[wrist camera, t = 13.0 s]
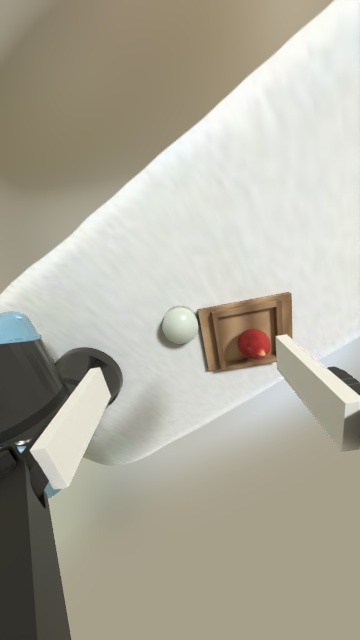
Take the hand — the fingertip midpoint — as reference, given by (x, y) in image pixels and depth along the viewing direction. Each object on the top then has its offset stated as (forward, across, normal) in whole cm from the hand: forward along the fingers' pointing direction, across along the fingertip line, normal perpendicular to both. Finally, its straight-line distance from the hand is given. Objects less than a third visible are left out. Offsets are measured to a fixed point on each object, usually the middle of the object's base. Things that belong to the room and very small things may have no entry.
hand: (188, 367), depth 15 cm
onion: (+26, +11, -11) cm, 30 cm away
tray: (+27, +11, -11) cm, 31 cm away
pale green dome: (+27, -2, -6) cm, 27 cm away
